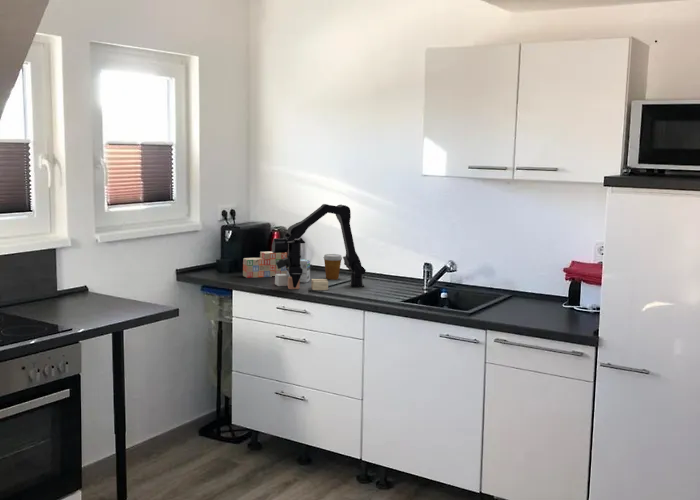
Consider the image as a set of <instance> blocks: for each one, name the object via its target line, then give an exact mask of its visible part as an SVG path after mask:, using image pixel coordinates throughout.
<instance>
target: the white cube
mask: <svg viewBox="0 0 700 500" xmlns="http://www.w3.org/2000/svg"><path fill="white" fill-rule="evenodd" d="M288 276H289V275H286V274H275V277H274V285H276V286H277V287H288Z"/></svg>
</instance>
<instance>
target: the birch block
mask: <svg viewBox="0 0 700 500" xmlns="http://www.w3.org/2000/svg"><path fill="white" fill-rule="evenodd" d="M310 281H311V283H310V284H311V286H310V287H311V289H312V290H313V291H328V290H329V281H328V279H326V278H310Z"/></svg>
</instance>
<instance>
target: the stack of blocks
mask: <svg viewBox="0 0 700 500" xmlns="http://www.w3.org/2000/svg"><path fill="white" fill-rule="evenodd" d="M259 253H260V254H259V257H244V258H243V260H242V277H245V278H246V279H250V278H271V277H272V276H275V274H286V273H287V268H286V266H284V267H282V268H280V269H278V267H277V264H276V261H278V260H281V259H284V258H287V255H288V252H286V253H273V252H272V251H260V252H259ZM272 278H273V277H272Z"/></svg>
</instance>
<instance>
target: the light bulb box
mask: <svg viewBox="0 0 700 500" xmlns="http://www.w3.org/2000/svg"><path fill="white" fill-rule="evenodd" d="M300 264H301V268H302V269H303V273H302V275H301V277H300V283H308V282H309V281H311V259H307V258H306V259H303V258H300ZM286 271H287V270H286ZM286 275H289V272H288V271H287V272H286ZM288 277H290V275H289V276H288Z"/></svg>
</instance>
